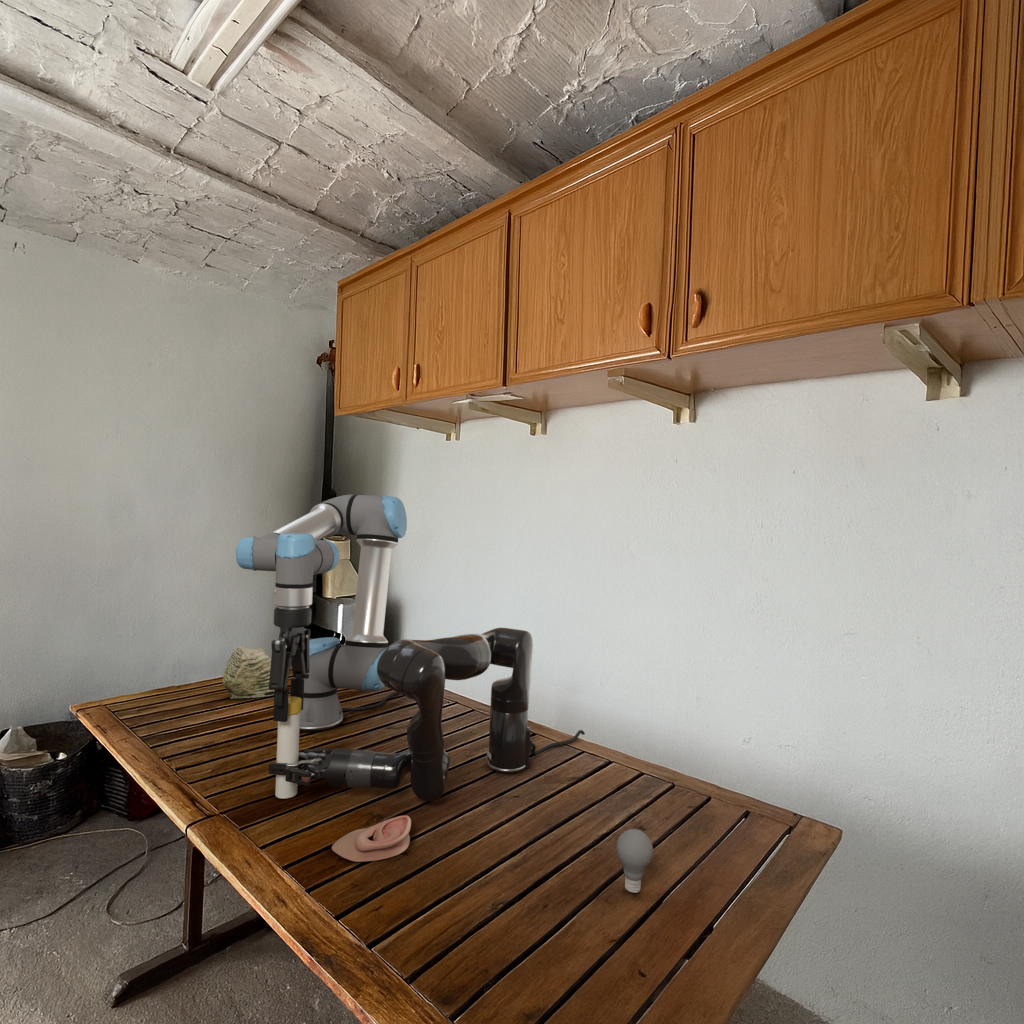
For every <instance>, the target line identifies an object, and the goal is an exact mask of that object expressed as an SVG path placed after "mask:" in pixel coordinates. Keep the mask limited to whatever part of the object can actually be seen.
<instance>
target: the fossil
mask: <svg viewBox="0 0 1024 1024" xmlns="http://www.w3.org/2000/svg"><path fill="white" fill-rule="evenodd" d="M270 668H271V657H270V656H269V655H268V654H267V653H266V652H265V650H264V649H263V648H260V647H258V648H251V647H247V646H246V647H245V646H238V647H237V648H236V649H235V650H233V651H232V653H231V656H230V657H229V659H228V660H227V663H226V666H225V668H224V671H223V675H222V676H223V677H222V685H223V687H224V688H225V690H226V691H228V693H229V698H230V699H250V698H264V697H271V696H274V690H270V689H269V679H270Z"/></svg>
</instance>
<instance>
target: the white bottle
mask: <svg viewBox="0 0 1024 1024" xmlns="http://www.w3.org/2000/svg"><path fill="white" fill-rule="evenodd" d="M299 730H300V712H299V713H297V714H293V715H288V720H287V722H279V721H277V734H276V735H277V736H276V737H277V739H276V762H275V763H288V764H291V763H298V756H299V752H300V731H299ZM296 769H298V768H296ZM285 778H286V775H275V790H274V791H275V792H274V796H275V797H276V798H278V799H284V800H285V799H290V798H293V797H295V796H296V795H297V794H298V784H296V783H291V782H287V781H285ZM293 778H294V777H293Z"/></svg>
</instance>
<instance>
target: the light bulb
mask: <svg viewBox="0 0 1024 1024" xmlns="http://www.w3.org/2000/svg"><path fill="white" fill-rule="evenodd" d="M615 849H616V854H617V857H618V859H619V861H620V863H621V865H622V867H623V873H624V874H623V875H624V876H625V878H624V888H625V890H627V891H628V892H630V893H634V894H635V893H639V892H640V891H641V889H642V887H641V886H642V879H643V877H644V875H645V871H646V868H647V867H648V866H649V864H650V863H651V861H652V859H653V855H654V847H653V843H652V841H651V838H649V836H648V835H647V834H646V833H645V832H643V831H642V830H641V829H636V828H629V829H627V830H625V831H623V832H622V833H621V834H620V835H619V837H618V839H617V841H616V847H615Z"/></svg>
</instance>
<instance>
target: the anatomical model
mask: <svg viewBox="0 0 1024 1024" xmlns="http://www.w3.org/2000/svg"><path fill="white" fill-rule="evenodd" d="M411 828H412V820H411V817H410V816H409V815H406V814H405V815H399V816H395V817H392V818H389V819H386V820H383V821H380V822H378V823H377V824H374V825H372V826H369V827H365V828H364V827H363V828H359V829H355V830H352V831H351V832H348V833H346V834H345V835H343V836H342V837H340V838H338V840H336V841H335V842H334V843H333V844H332V845H331V850H332V852H334V853H335V854H337V855H338V856H340V857H341V858H343V859H345V860H348V861H351V862H354V863H356V862H357V863H361V862H364V863H365V862H374V861H380V860H381V861H382V860H385V859H386V860H387V859H389V858H393V857H395V856H398V855H400V854H403V852H405V851H406V850H407V849H408V848H409V845H410V842H411V837H410V832H411Z"/></svg>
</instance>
